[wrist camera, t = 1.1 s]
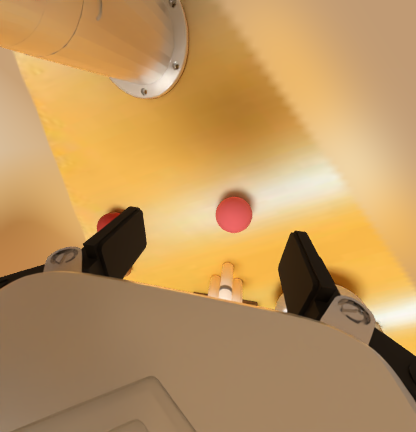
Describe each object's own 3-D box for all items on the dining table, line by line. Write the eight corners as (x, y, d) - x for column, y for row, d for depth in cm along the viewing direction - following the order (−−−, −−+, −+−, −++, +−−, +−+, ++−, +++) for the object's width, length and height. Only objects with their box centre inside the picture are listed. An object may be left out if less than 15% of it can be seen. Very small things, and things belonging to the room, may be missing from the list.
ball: (218, 189, 31) (214, 205, 26) (253, 192, 31) (255, 208, 25) (217, 219, 34) (212, 237, 29) (248, 222, 34) (250, 242, 29)
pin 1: (211, 274, 42) (204, 308, 35) (221, 275, 42) (216, 310, 35) (210, 281, 43) (204, 315, 36) (220, 282, 43) (216, 317, 36)
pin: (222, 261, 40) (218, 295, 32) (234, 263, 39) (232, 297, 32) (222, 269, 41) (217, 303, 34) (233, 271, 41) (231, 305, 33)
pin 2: (232, 277, 42) (230, 312, 34) (242, 279, 41) (243, 314, 34) (231, 284, 43) (229, 319, 35) (241, 286, 42) (241, 321, 35)
